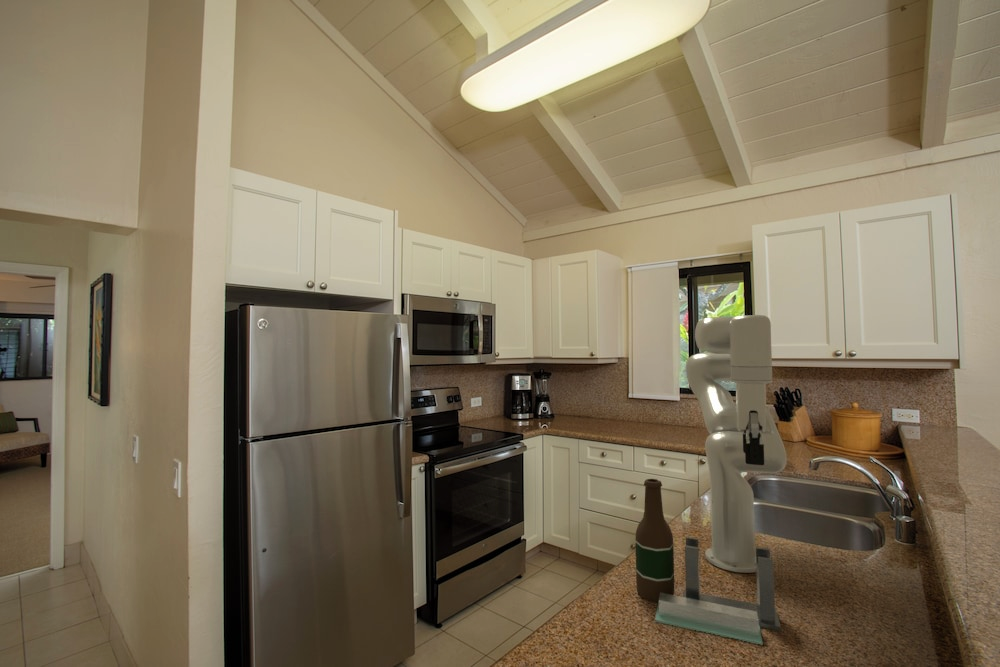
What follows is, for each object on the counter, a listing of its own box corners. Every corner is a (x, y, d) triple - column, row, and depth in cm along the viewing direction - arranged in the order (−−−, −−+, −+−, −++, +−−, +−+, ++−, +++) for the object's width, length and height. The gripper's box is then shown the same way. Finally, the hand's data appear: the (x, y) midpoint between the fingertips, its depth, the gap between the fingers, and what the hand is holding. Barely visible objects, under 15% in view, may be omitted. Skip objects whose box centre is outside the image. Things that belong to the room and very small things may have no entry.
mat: (658, 605, 93) (658, 603, 93) (759, 626, 86) (759, 624, 86) (655, 621, 88) (655, 619, 88) (762, 645, 81) (762, 643, 81)
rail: (660, 607, 92) (660, 592, 92) (757, 628, 85) (756, 611, 85) (659, 615, 89) (658, 599, 89) (759, 637, 82) (758, 620, 82)
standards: (683, 593, 98) (682, 534, 98) (775, 611, 91) (773, 548, 91) (681, 610, 92) (680, 547, 92) (780, 631, 85) (778, 562, 85)
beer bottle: (677, 605, 93) (674, 486, 94) (638, 601, 95) (635, 484, 96) (671, 586, 101) (668, 476, 102) (634, 583, 103) (632, 474, 104)
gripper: (729, 372, 104) (731, 448, 104) (731, 377, 88) (733, 467, 88) (768, 372, 101) (770, 451, 100) (776, 378, 85) (779, 471, 85)
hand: (753, 458), depth 94 cm, fingers open, 9 cm apart
